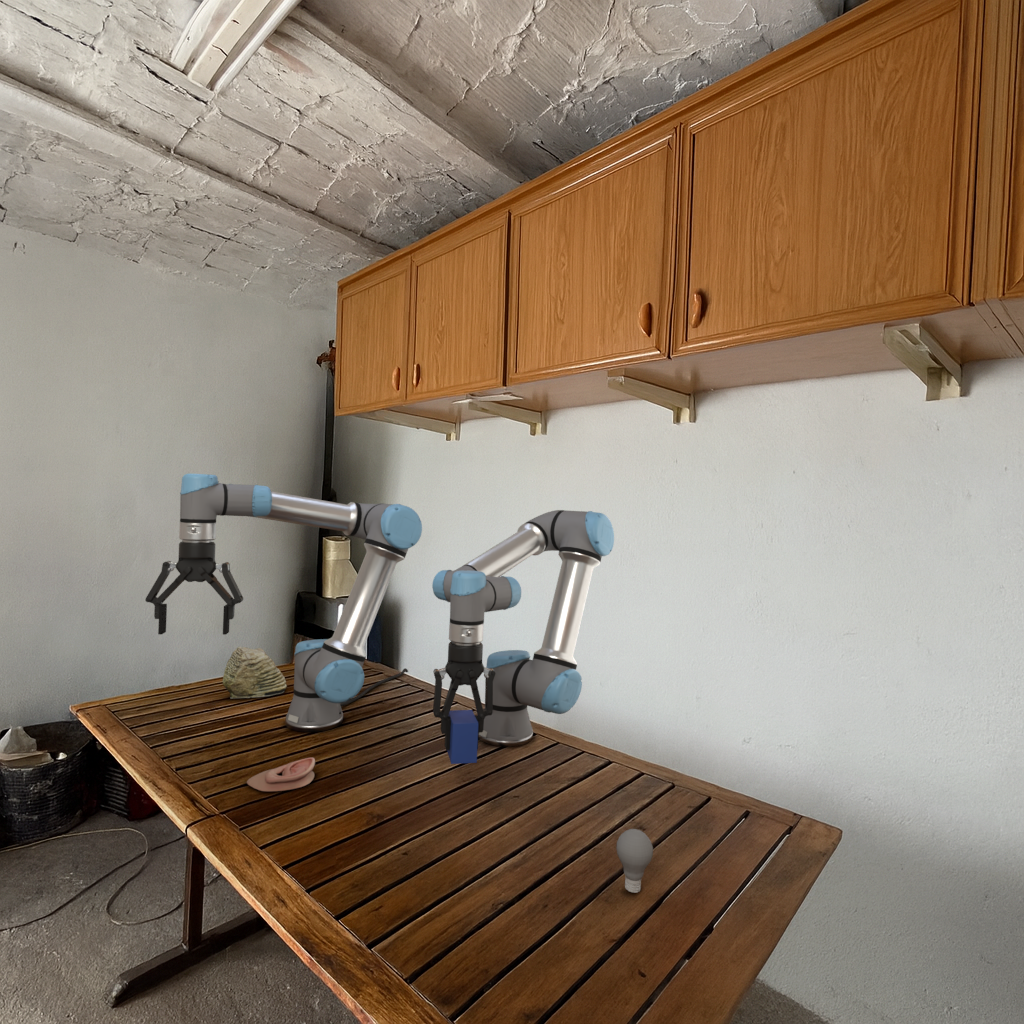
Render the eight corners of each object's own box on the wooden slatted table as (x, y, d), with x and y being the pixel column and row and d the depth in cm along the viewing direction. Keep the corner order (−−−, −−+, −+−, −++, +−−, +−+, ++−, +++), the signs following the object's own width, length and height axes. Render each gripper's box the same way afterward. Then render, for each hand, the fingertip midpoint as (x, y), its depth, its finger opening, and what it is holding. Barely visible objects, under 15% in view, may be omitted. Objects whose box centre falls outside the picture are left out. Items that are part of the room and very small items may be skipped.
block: (446, 748, 142) (447, 710, 142) (470, 747, 143) (472, 709, 143) (451, 764, 134) (452, 723, 134) (476, 762, 135) (478, 722, 135)
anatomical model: (238, 769, 136) (269, 749, 147) (238, 787, 136) (269, 766, 147) (295, 777, 133) (322, 756, 144) (294, 796, 133) (321, 773, 144)
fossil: (218, 695, 195) (220, 647, 195) (278, 685, 208) (279, 640, 207) (228, 703, 189) (230, 653, 188) (289, 692, 201) (290, 645, 201)
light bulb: (610, 879, 108) (613, 822, 108) (644, 879, 109) (647, 822, 109) (619, 902, 102) (622, 840, 102) (655, 901, 103) (658, 840, 103)
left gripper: (131, 540, 139) (128, 636, 139) (251, 543, 144) (248, 636, 144) (144, 538, 146) (141, 629, 147) (258, 541, 151) (255, 629, 152)
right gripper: (424, 646, 133) (420, 756, 133) (510, 645, 137) (506, 752, 137) (421, 638, 140) (417, 742, 140) (503, 637, 144) (499, 739, 144)
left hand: (194, 633), depth 146 cm, fingers open, 13 cm apart
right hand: (461, 747), depth 139 cm, fingers closed on block, 5 cm apart
